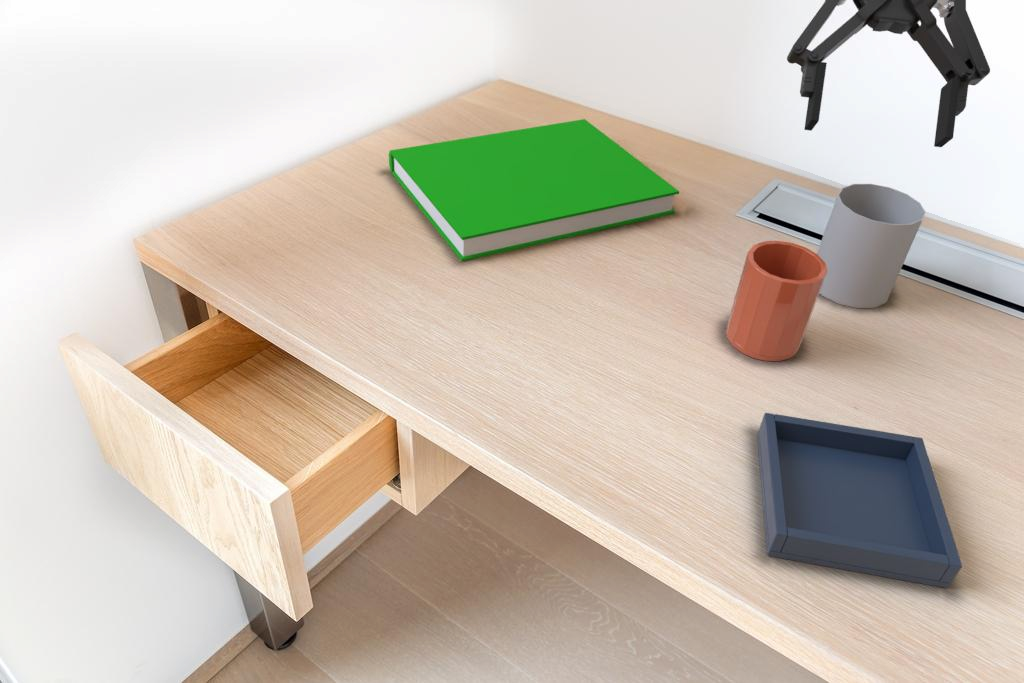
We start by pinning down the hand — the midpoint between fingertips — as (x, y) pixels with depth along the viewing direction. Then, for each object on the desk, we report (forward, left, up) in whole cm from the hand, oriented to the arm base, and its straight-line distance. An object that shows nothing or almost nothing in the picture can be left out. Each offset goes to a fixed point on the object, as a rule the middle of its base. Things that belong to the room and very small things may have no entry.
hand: (876, 134), depth 84 cm
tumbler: (+10, +21, -13) cm, 27 cm away
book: (+37, -2, -14) cm, 39 cm away
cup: (0, +9, -14) cm, 16 cm away
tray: (+5, +41, -13) cm, 43 cm away
